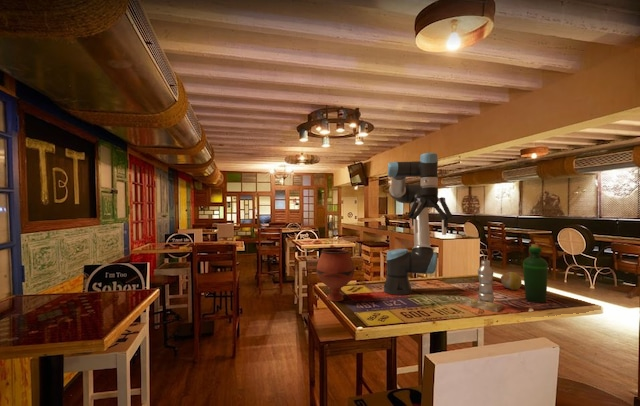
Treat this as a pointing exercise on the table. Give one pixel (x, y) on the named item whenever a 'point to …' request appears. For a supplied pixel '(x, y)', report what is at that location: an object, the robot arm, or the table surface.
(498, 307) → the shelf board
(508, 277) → the fruit
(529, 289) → the bottle
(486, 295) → the plastic bottle
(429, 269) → the robot arm
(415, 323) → the table surface
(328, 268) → the goblet
